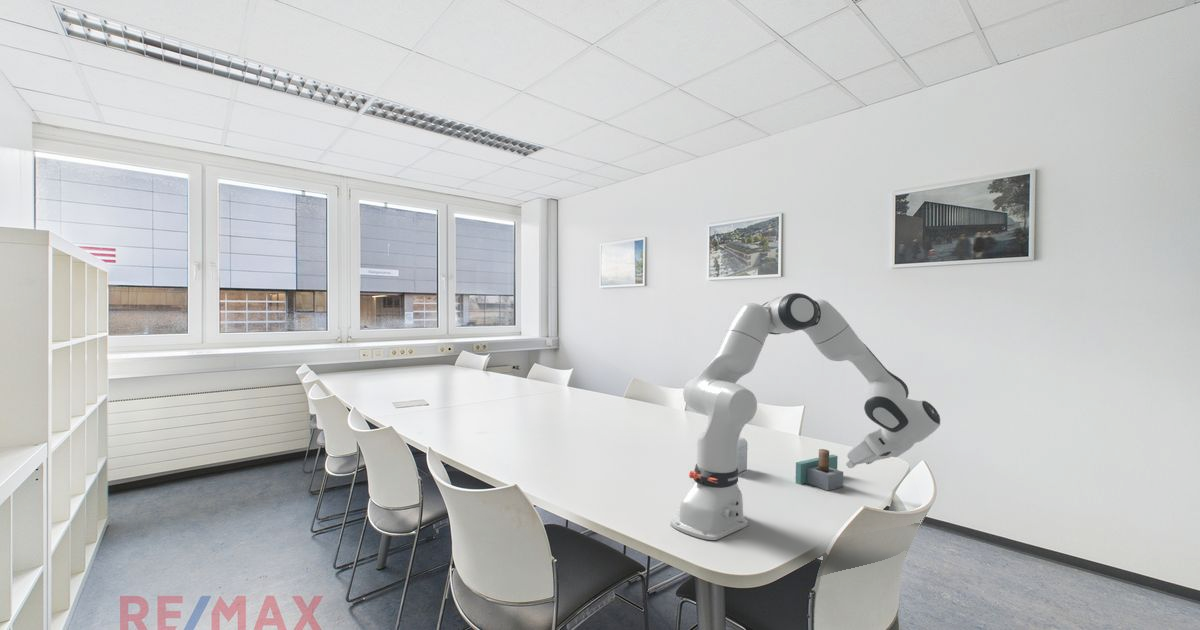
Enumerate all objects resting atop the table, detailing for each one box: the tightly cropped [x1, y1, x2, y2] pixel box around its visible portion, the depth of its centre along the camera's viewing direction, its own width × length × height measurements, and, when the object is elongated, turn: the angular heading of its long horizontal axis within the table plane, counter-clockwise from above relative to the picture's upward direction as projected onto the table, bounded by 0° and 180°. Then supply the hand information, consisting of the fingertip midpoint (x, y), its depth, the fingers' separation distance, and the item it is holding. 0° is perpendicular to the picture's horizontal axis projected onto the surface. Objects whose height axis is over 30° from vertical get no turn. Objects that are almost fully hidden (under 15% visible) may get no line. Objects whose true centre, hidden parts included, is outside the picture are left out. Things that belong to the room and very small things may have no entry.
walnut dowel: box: [818, 448, 830, 473], centre depth 160 cm, size 3×3×10 cm
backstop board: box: [795, 454, 839, 485], centre depth 166 cm, size 2×20×7 cm, turn 119°
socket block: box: [806, 466, 844, 491], centre depth 160 cm, size 8×8×5 cm
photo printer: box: [737, 436, 748, 474], centre depth 173 cm, size 10×4×12 cm, turn 134°
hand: (857, 464), depth 150 cm, fingers open, 8 cm apart
